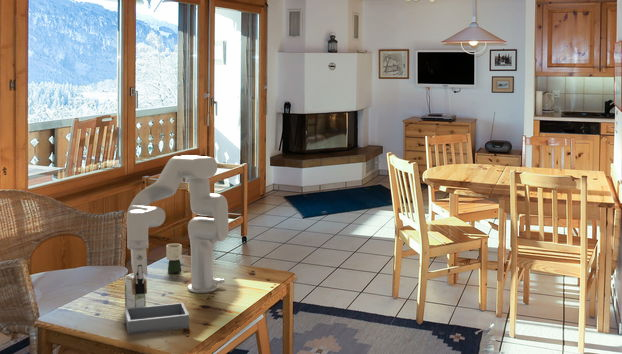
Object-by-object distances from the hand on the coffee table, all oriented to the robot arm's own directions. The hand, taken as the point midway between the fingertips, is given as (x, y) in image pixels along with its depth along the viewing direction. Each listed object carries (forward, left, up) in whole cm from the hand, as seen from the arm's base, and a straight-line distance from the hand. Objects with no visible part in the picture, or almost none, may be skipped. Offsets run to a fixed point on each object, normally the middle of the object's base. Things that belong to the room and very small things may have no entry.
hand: (139, 290), depth 262 cm
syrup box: (0, -18, -14) cm, 23 cm away
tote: (-6, 0, -14) cm, 15 cm away
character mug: (-22, -63, -14) cm, 68 cm away
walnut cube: (0, 0, 0) cm, 0 cm away
